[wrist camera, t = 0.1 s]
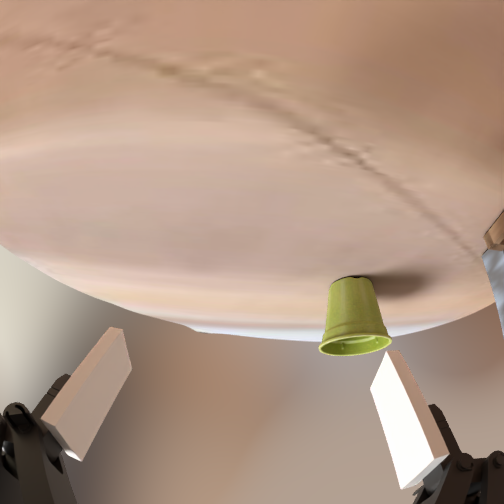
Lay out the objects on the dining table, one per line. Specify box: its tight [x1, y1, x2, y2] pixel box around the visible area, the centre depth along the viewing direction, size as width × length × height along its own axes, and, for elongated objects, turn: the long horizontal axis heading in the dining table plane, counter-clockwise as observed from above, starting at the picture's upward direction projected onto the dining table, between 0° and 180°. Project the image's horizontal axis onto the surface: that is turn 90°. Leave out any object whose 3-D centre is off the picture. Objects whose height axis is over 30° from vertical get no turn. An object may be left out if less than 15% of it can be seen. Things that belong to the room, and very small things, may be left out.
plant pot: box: [319, 277, 392, 356], centre depth 34 cm, size 9×9×9 cm
